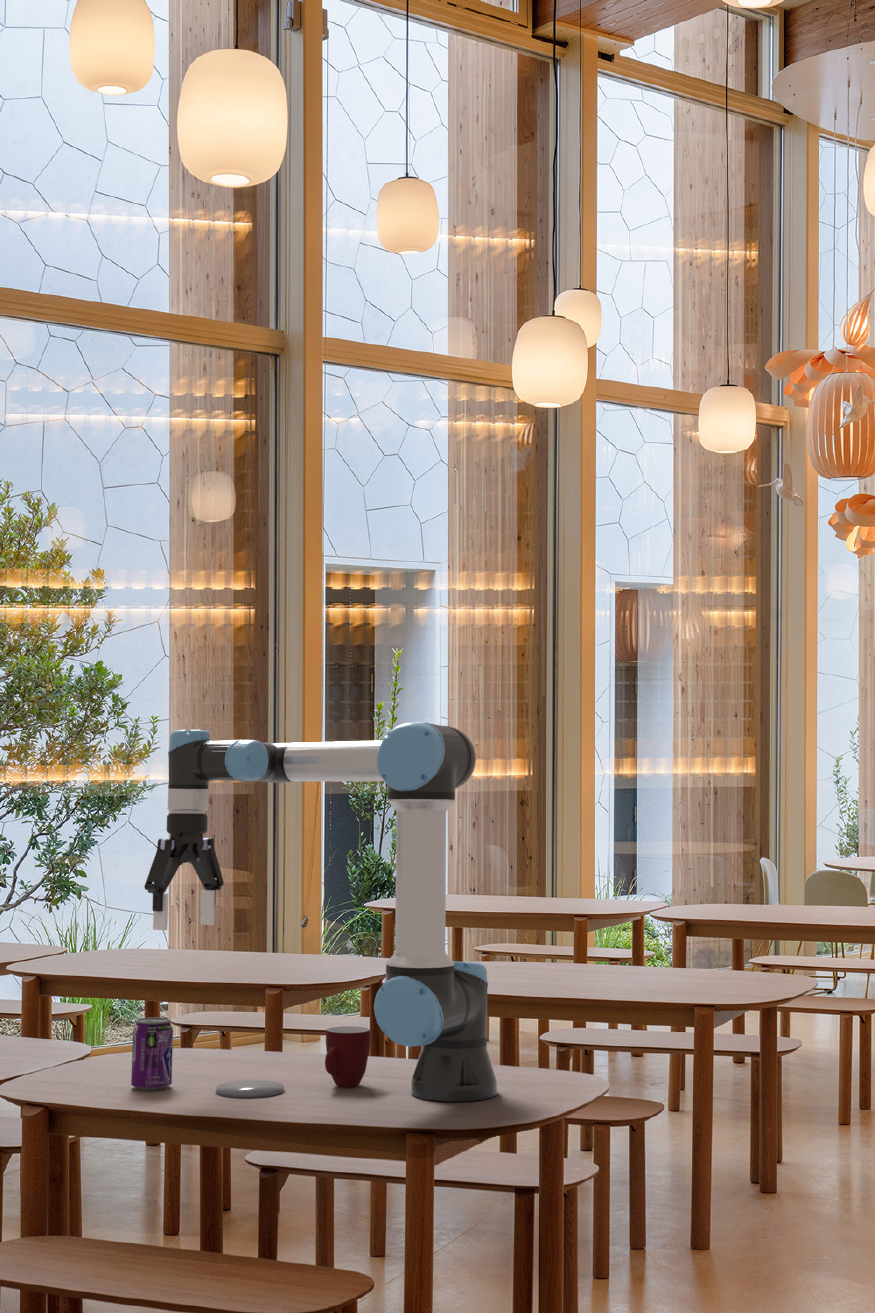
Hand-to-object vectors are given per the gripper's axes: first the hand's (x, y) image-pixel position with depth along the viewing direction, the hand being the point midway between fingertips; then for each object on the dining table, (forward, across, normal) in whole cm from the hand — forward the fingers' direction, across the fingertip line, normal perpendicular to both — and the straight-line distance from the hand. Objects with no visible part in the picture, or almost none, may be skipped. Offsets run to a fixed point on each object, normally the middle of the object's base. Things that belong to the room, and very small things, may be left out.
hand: (184, 927), depth 259 cm
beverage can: (+28, +8, 0) cm, 29 cm away
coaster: (+28, +1, +16) cm, 32 cm away
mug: (+28, -11, +29) cm, 42 cm away
